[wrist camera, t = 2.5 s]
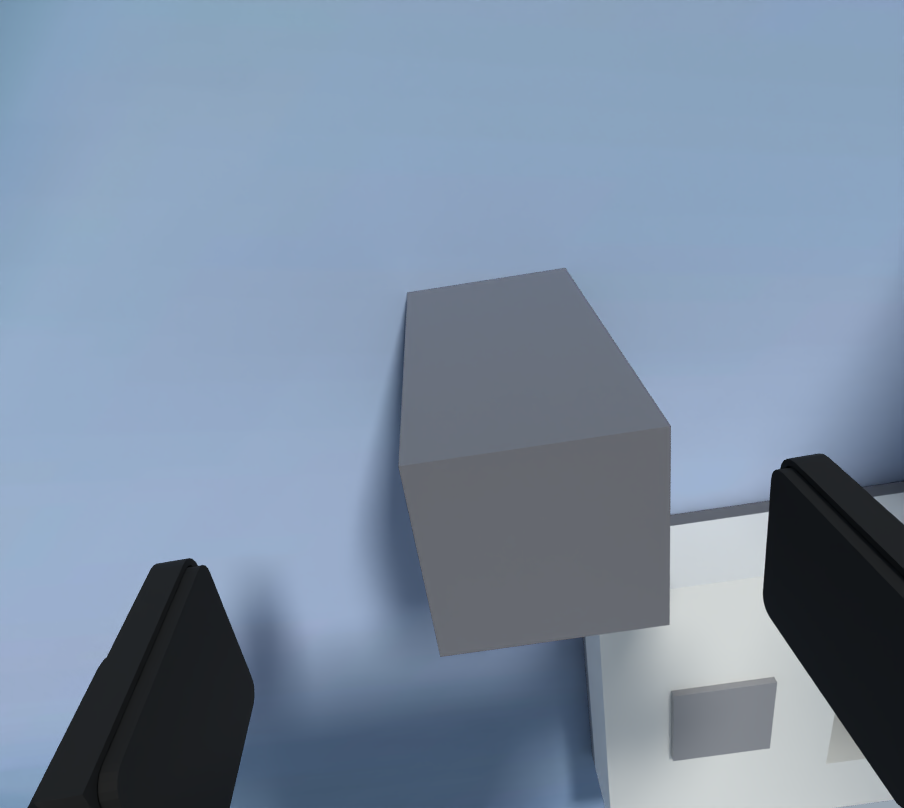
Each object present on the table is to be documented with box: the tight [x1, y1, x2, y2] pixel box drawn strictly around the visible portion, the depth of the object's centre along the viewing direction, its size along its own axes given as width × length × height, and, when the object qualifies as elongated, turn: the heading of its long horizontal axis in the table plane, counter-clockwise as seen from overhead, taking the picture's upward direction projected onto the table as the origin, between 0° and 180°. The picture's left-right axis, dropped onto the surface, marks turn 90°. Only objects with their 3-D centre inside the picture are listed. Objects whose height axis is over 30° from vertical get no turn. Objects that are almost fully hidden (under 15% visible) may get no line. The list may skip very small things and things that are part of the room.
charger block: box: [398, 268, 671, 657], centre depth 14 cm, size 4×4×8 cm
